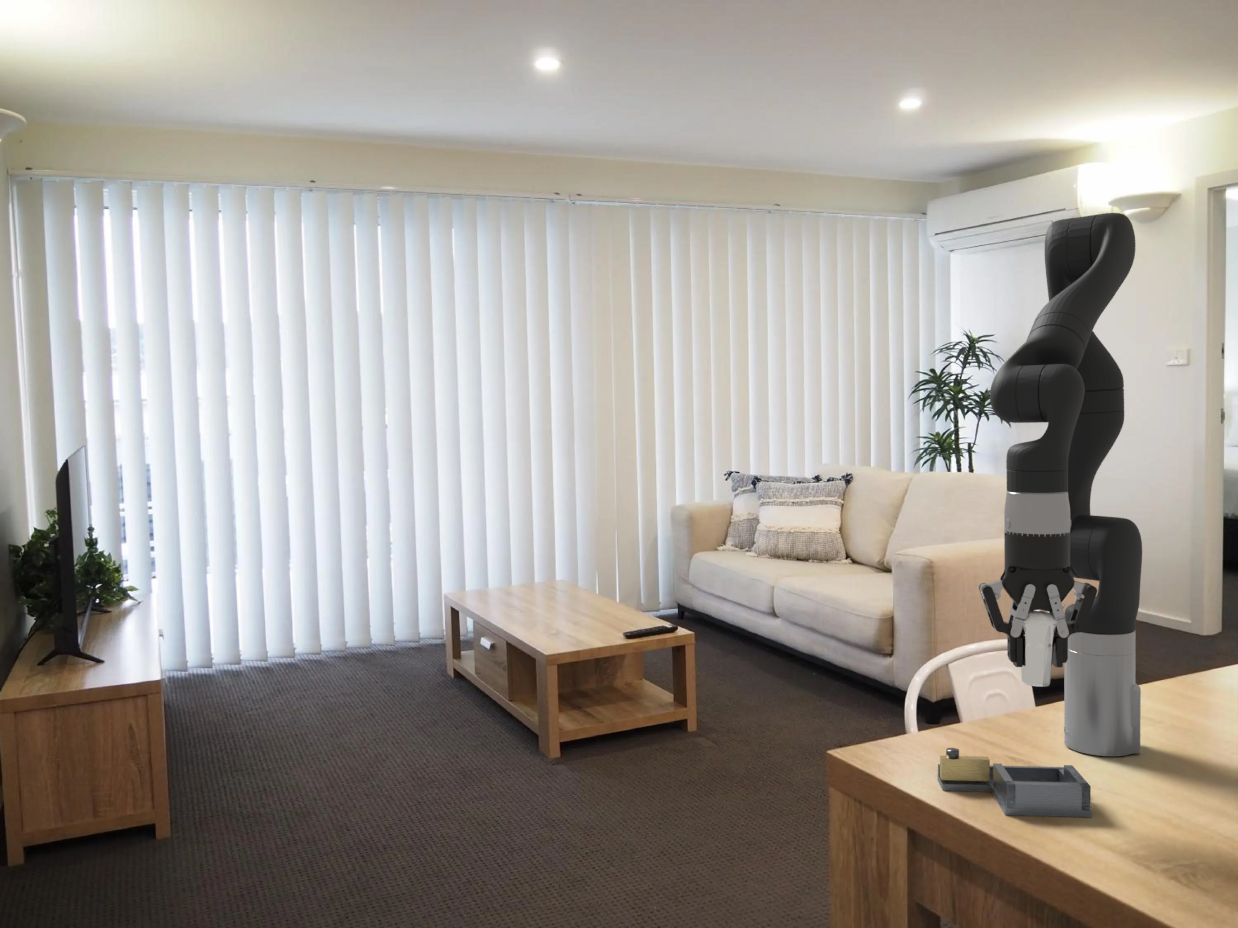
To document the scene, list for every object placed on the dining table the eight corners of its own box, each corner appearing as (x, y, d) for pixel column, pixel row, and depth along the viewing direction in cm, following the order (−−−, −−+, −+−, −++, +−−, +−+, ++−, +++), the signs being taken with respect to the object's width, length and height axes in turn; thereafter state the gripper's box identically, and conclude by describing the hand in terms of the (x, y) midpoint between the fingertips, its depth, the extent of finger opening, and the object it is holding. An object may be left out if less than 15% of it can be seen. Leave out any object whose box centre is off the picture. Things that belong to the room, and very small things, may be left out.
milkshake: (1066, 689, 126) (1068, 608, 125) (1019, 687, 127) (1021, 606, 126) (1058, 679, 130) (1060, 600, 130) (1013, 677, 132) (1015, 599, 131)
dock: (1064, 782, 136) (1064, 754, 135) (1092, 817, 124) (1092, 785, 124) (937, 779, 138) (937, 751, 138) (953, 813, 126) (953, 782, 126)
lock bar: (987, 777, 135) (987, 748, 135) (990, 781, 134) (990, 752, 133) (939, 775, 136) (939, 747, 136) (941, 780, 134) (941, 751, 134)
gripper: (1088, 524, 130) (1088, 659, 131) (970, 524, 132) (971, 657, 133) (1108, 531, 123) (1107, 674, 124) (983, 531, 125) (983, 672, 126)
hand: (1037, 665), depth 129 cm, fingers closed on milkshake, 4 cm apart
